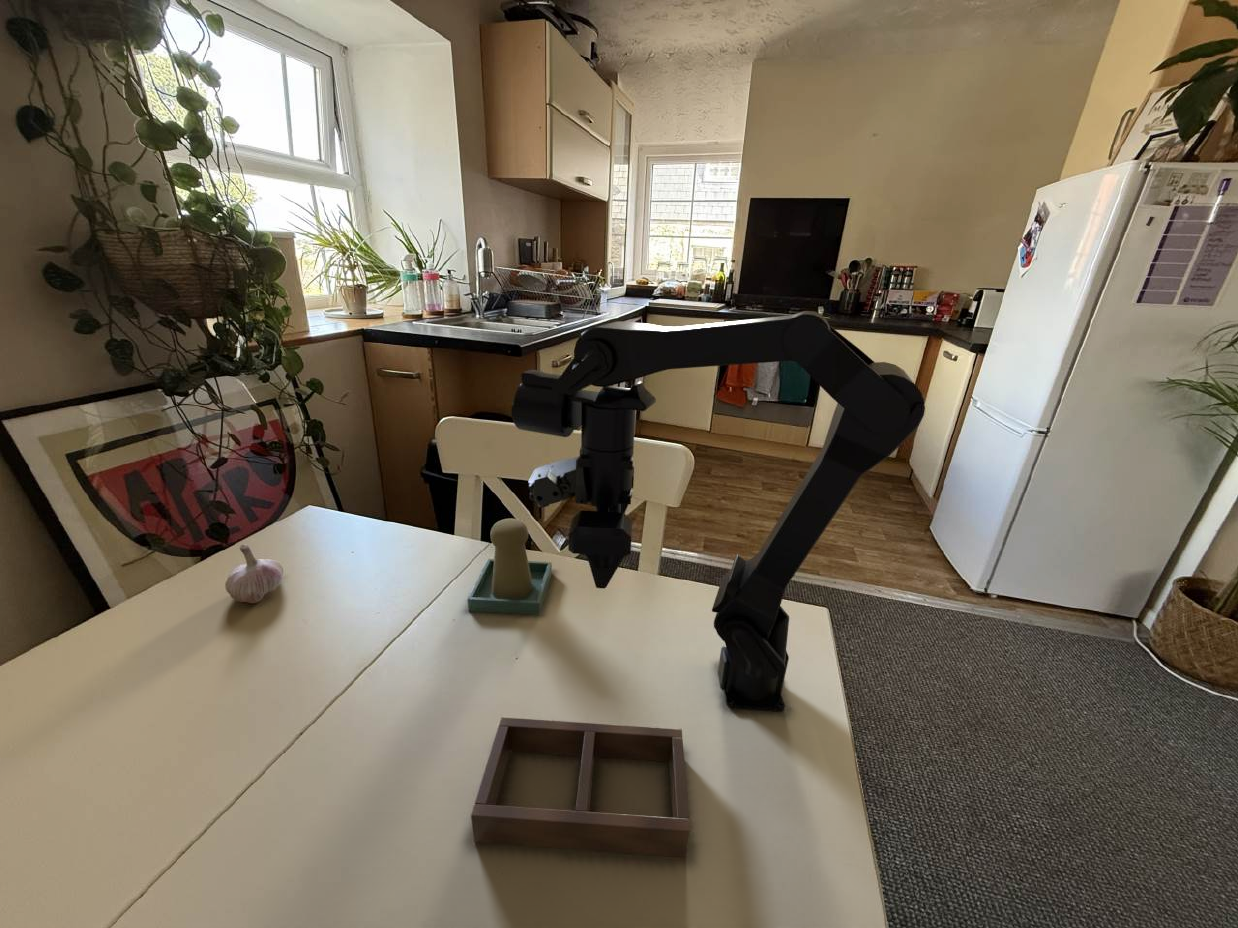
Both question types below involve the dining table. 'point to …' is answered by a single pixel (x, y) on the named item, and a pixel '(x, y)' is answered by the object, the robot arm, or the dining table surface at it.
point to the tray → (531, 604)
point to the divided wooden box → (583, 790)
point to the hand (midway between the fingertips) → (603, 564)
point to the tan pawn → (510, 560)
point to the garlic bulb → (253, 578)
